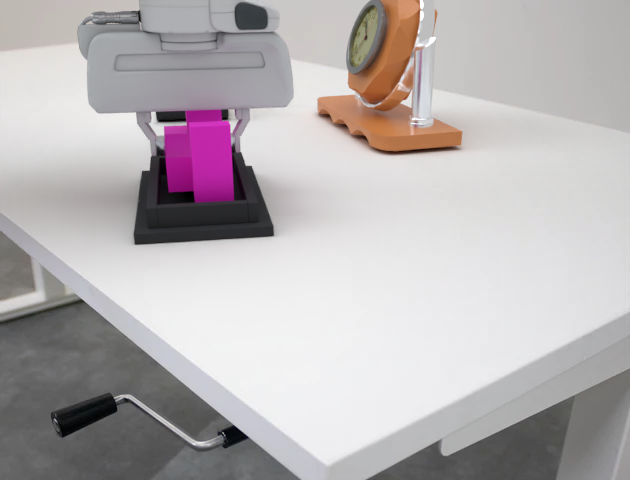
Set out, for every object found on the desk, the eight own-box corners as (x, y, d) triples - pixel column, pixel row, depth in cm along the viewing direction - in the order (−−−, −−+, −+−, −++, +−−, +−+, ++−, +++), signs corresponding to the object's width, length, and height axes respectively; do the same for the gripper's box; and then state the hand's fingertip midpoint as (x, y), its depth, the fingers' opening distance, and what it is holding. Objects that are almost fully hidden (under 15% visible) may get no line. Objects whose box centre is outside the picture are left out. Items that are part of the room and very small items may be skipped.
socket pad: (134, 244, 70) (131, 213, 69) (142, 178, 90) (140, 153, 88) (273, 235, 72) (272, 205, 71) (252, 173, 92) (251, 148, 90)
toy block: (167, 166, 86) (161, 98, 83) (222, 163, 87) (218, 96, 84) (169, 206, 73) (162, 128, 69) (234, 202, 74) (230, 125, 70)
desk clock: (380, 107, 128) (385, -23, 119) (464, 148, 102) (478, -14, 93) (311, 112, 124) (310, -22, 116) (380, 156, 99) (385, -12, 90)
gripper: (70, 14, 68) (90, 165, 74) (295, 11, 71) (297, 156, 77) (78, 9, 74) (96, 150, 80) (286, 6, 77) (288, 142, 83)
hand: (196, 153), depth 78 cm, fingers closed on toy block, 6 cm apart
